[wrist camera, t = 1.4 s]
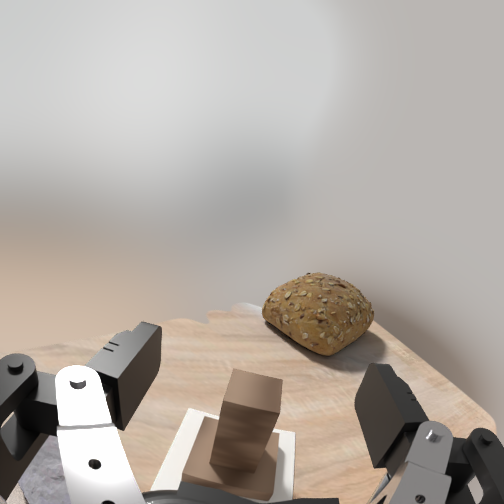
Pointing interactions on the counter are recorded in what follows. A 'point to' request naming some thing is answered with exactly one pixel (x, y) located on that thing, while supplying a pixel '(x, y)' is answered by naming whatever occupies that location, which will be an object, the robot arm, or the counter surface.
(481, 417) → the counter surface
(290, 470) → the tile
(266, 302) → the bread
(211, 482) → the walnut stamp
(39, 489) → the stone block
